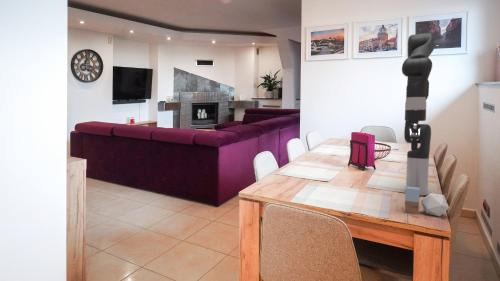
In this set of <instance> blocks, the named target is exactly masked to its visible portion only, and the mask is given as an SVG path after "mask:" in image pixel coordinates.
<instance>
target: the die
mask: <svg viewBox="0 0 500 281" xmlns="http://www.w3.org/2000/svg"><path fill="white" fill-rule="evenodd" d="M420 203H421V206H422V207H423V210H424V212H425V214H427V215H430V216H435V217H441V216H442V215H443V214H444V213H446V212H447V211H448V210H450V207H449V204H448V202H447V200H446V196H445V195H444V194H439V193H431V192H430V193H428V194H427V195H425V197H424V198H422V199H421V200H420Z"/></svg>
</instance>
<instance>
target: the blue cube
mask: <svg viewBox="0 0 500 281" xmlns="http://www.w3.org/2000/svg"><path fill="white" fill-rule="evenodd" d="M404 191H405V193H404V195H405V197H404V202H405V201H413V202H419V203H420V195H419V192H420V189H419V187H408V186H406V185H405V190H404Z"/></svg>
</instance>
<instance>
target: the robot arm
mask: <svg viewBox="0 0 500 281" xmlns="http://www.w3.org/2000/svg"><path fill="white" fill-rule="evenodd" d="M435 39H436V38H435V34H434V33H432V32H424V33H417V34H411V35H409V37H408V39H407V58H406V59H405V60H404V61H403V63H402V66H401V73H402V74H403V76H405V77H406V78H407V79H406V80H407V84H406V88H405V89H406V90H405V91H406V93H405V96H406V97H405V103H404V104H405V105H404V106H405V107H404V121H405V122H404V123H405V124H404V132H403V134H404V135H403V136H404V141H405V142H406V143H407V144H410V145H411V146H410V148H411V149H410V150H408V151H407V152H406V153H407V154H406V156H407V157H406V178H405V180H406V182H405V187H406V186H408V187H419V189H420V192H419V196H427V195H428V194H429V193H428V191H429V188H428V187H429V168H430V167H429V166H430V150H431V139H432V138H431V137H432V128H431V125H430V124H427V123H424V124H423V123H419V122H425V121H426V120H427V100H428V98H429V93H430V82H429V77H430V76H431V72H432V69H433V62H432V60H431V58H429V57H430V55H432V53H433V51H434V49H435V44H436V43H435V42H436V40H435ZM419 144H420V145H419ZM418 145H419V146H418Z"/></svg>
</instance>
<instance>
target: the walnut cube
mask: <svg viewBox="0 0 500 281" xmlns="http://www.w3.org/2000/svg"><path fill="white" fill-rule="evenodd" d="M419 212H420V201H419V202H413V201H405V200H404V214H410V215H411V214H412V215H420V213H419Z"/></svg>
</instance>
